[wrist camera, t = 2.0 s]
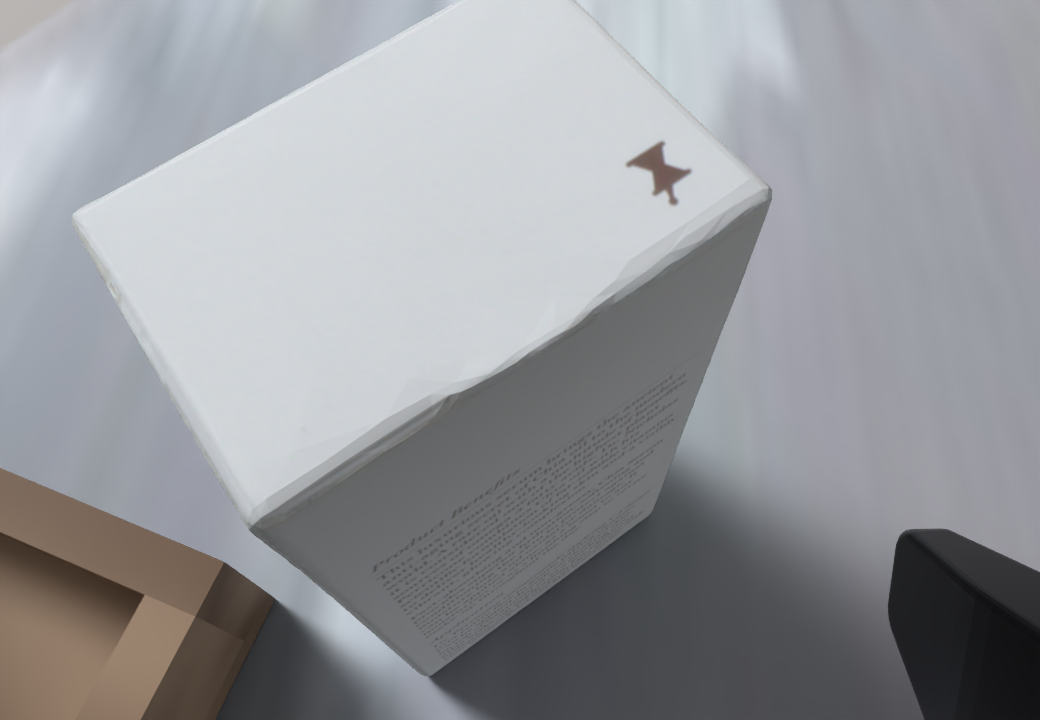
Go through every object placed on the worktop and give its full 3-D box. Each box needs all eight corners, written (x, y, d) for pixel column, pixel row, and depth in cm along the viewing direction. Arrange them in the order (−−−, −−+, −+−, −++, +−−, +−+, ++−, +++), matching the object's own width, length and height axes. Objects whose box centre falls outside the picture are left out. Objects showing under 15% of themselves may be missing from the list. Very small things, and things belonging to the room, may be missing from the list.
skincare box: (539, 370, 21) (543, -59, 10) (655, 515, 20) (801, 189, 9) (313, 520, 20) (47, 203, 9) (421, 689, 18) (256, 551, 8)
